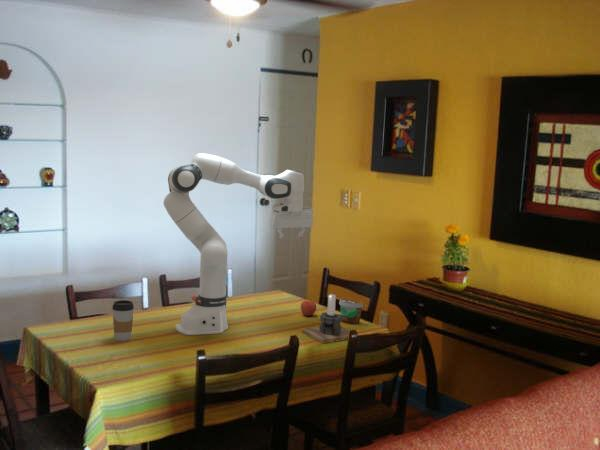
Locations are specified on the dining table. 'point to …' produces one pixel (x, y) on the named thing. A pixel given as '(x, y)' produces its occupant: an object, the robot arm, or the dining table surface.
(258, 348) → the dining table surface
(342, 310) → the food container
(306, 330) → the collar stand
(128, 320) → the coffee cup
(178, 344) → the dining table surface
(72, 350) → the dining table surface
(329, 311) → the air tube
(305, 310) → the apple
